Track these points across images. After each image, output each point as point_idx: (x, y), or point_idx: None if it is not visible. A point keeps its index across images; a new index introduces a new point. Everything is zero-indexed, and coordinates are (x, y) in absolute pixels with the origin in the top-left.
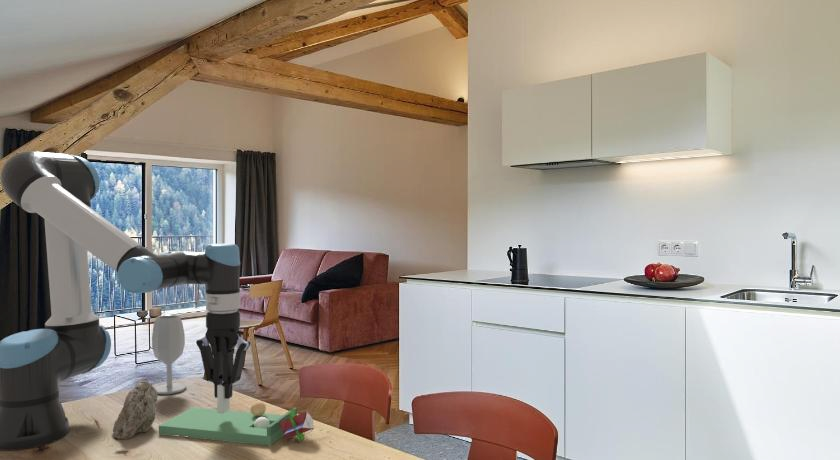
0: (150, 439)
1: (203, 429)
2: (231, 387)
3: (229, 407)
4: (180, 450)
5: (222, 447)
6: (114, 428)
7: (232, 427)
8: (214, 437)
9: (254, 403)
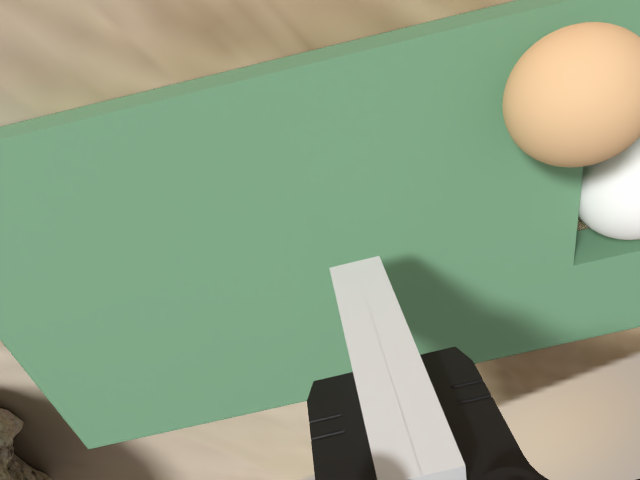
0: (134, 447)
1: None
2: (510, 444)
3: (382, 266)
4: None
5: (495, 371)
6: None
7: (483, 310)
8: None
9: (588, 150)
